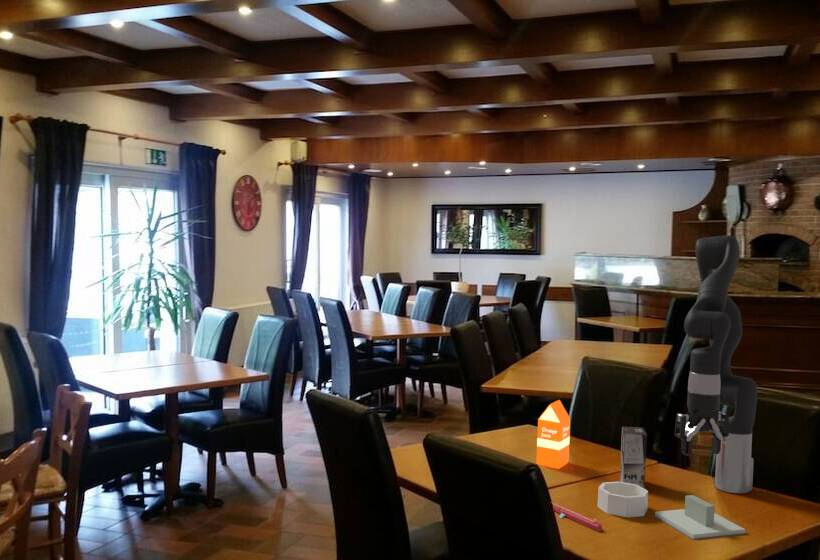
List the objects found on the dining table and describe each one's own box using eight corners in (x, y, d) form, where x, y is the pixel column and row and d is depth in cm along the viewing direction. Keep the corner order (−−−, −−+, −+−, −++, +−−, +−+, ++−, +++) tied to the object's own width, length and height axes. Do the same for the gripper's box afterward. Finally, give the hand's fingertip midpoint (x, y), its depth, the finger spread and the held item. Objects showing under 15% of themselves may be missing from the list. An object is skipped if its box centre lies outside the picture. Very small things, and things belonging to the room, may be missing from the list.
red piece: (593, 537, 176) (605, 527, 179) (591, 529, 176) (604, 520, 178) (526, 505, 196) (538, 497, 199) (524, 499, 196) (536, 490, 198)
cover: (703, 511, 192) (704, 488, 191) (744, 533, 177) (746, 509, 177) (654, 515, 187) (656, 492, 187) (693, 538, 173) (694, 514, 173)
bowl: (628, 500, 200) (629, 480, 199) (655, 516, 188) (656, 495, 188) (590, 503, 196) (591, 483, 196) (615, 519, 185) (615, 498, 184)
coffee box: (645, 490, 208) (647, 434, 208) (622, 487, 210) (624, 433, 209) (641, 480, 217) (644, 427, 217) (619, 478, 219) (621, 425, 218)
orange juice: (569, 462, 233) (571, 401, 232) (559, 469, 226) (561, 405, 225) (546, 457, 237) (548, 397, 236) (535, 464, 230) (538, 402, 229)
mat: (703, 511, 192) (703, 510, 192) (747, 535, 177) (747, 533, 177) (652, 516, 188) (652, 514, 188) (692, 541, 172) (692, 539, 172)
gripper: (717, 386, 186) (714, 448, 187) (670, 388, 183) (667, 451, 183) (738, 392, 179) (734, 457, 180) (689, 394, 175) (686, 460, 176)
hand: (700, 454), depth 182 cm, fingers open, 8 cm apart
